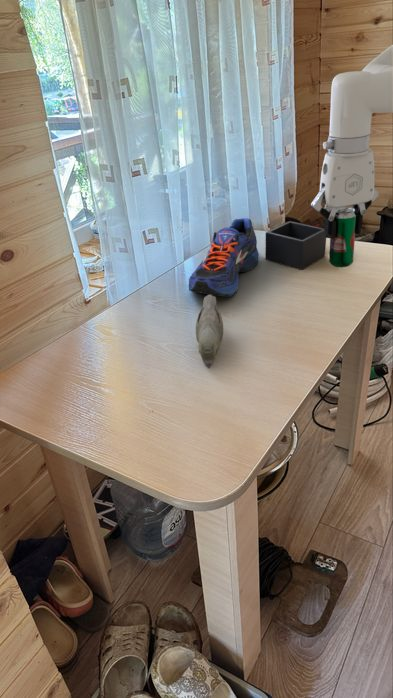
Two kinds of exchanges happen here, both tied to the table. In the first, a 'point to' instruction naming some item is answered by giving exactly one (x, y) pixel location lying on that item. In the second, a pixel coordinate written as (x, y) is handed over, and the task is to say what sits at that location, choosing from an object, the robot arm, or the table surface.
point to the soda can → (343, 238)
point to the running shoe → (226, 260)
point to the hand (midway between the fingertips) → (342, 233)
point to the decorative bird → (209, 330)
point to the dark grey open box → (295, 245)
